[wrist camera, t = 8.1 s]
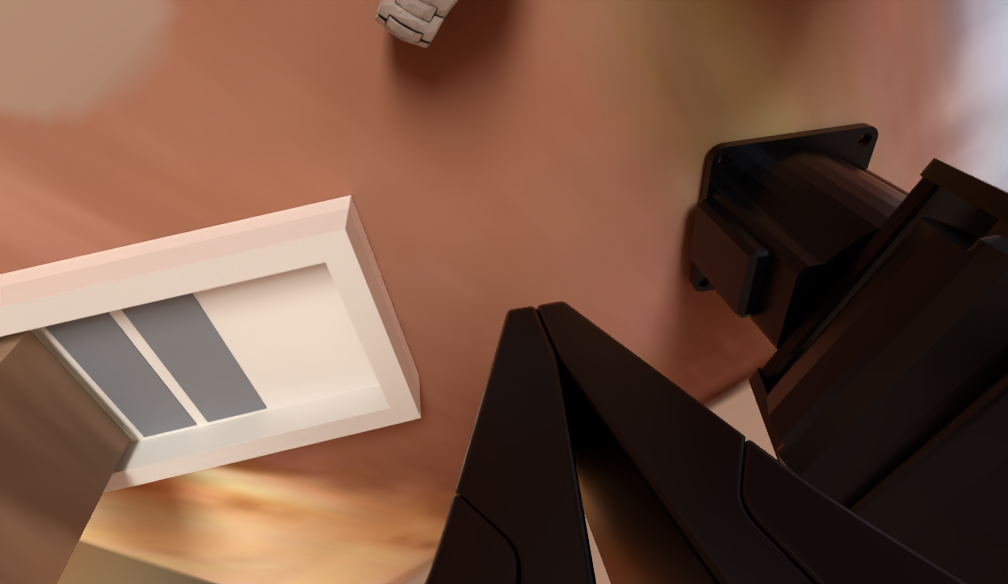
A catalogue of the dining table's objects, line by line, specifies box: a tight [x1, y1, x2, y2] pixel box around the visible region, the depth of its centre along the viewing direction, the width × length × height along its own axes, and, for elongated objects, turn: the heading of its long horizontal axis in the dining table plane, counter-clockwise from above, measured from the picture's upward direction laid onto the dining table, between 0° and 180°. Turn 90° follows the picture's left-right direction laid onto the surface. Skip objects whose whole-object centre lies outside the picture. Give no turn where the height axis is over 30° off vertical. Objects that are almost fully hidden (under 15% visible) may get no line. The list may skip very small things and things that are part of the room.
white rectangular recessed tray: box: [0, 195, 421, 493], centre depth 21 cm, size 17×9×2 cm, turn 100°
